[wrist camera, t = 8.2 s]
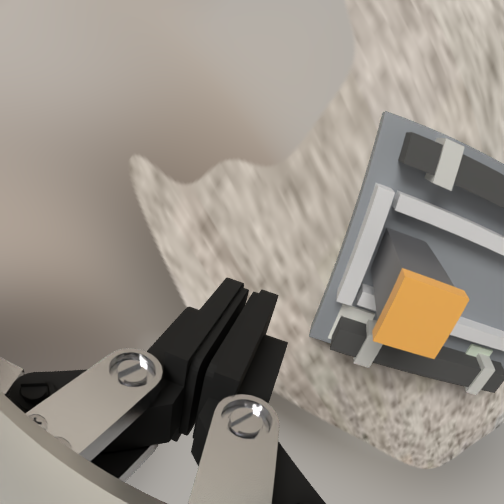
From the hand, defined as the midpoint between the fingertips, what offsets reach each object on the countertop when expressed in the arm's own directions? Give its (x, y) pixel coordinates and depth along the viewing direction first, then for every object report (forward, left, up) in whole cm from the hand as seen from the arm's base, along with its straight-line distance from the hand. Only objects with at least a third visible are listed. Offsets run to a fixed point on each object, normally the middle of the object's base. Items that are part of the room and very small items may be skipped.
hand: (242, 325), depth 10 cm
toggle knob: (-1, +7, -11) cm, 13 cm away
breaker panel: (-1, +12, -13) cm, 17 cm away
